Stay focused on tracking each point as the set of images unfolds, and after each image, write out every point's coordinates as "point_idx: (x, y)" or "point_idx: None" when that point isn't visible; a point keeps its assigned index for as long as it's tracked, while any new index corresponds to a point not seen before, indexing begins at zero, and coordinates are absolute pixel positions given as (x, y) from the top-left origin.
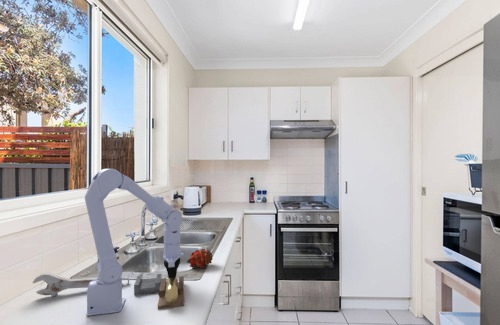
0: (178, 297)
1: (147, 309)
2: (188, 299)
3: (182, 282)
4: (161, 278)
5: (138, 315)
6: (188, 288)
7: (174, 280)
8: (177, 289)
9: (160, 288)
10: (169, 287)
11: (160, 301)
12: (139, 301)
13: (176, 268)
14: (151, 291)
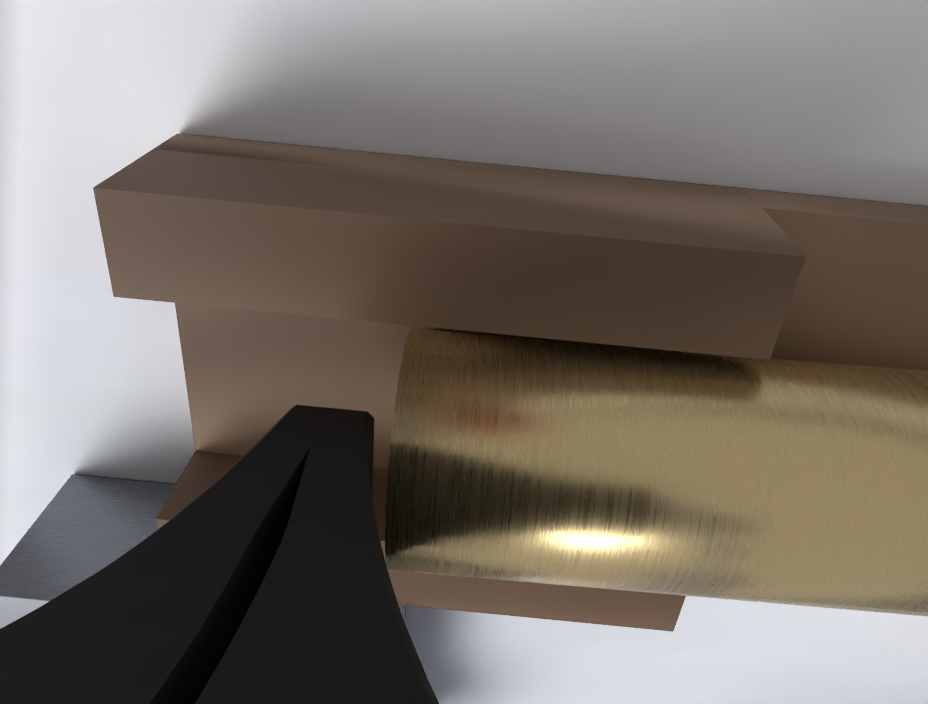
0: (850, 313)
1: (826, 629)
2: (899, 111)
3: (481, 255)
4: (43, 527)
5: (903, 692)
6: (408, 53)
7: (587, 494)
8: (903, 413)
9: (590, 614)
10: (924, 604)
11: None
12: (576, 684)
13: (413, 658)
14: (404, 609)
